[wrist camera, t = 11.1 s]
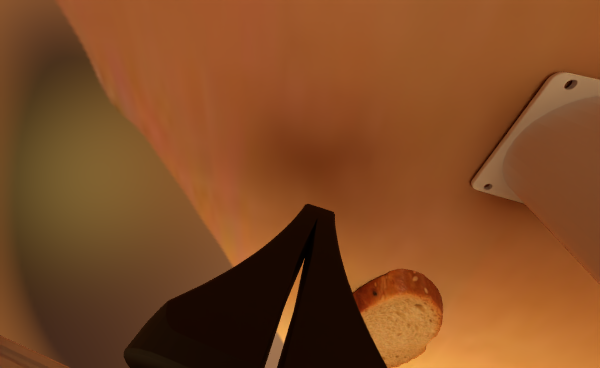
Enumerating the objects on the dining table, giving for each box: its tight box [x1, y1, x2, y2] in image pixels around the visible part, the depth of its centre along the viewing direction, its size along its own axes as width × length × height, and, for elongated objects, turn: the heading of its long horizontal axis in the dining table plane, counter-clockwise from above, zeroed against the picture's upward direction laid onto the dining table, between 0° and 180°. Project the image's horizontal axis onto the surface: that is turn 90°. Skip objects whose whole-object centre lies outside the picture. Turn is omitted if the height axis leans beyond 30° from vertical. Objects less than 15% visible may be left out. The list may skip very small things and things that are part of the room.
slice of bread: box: [353, 269, 443, 368], centre depth 28 cm, size 18×18×4 cm
